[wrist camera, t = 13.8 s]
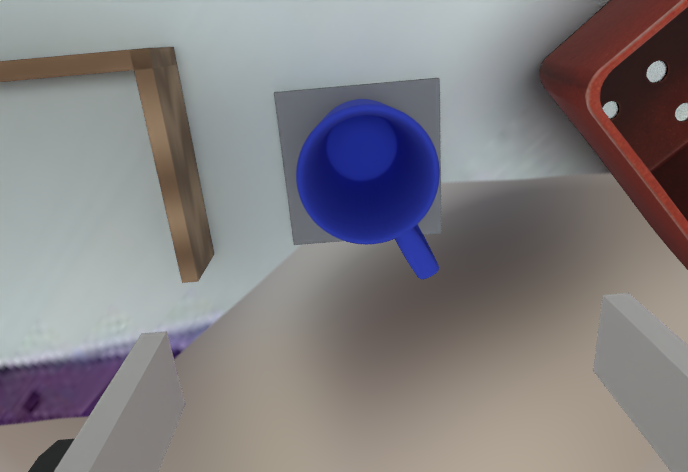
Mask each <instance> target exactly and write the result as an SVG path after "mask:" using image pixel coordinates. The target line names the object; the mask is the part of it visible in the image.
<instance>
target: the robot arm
mask: <svg viewBox="0 0 688 472" xmlns="http://www.w3.org/2000/svg"><path fill="white" fill-rule="evenodd" d="M593 371H594V372H595V374H596V375H597V376H598V378H599V379H600V380H601V382H602V383H603V384H604V386H605V387H606V388H607V389H608V391H609V392H610V393H611V394H612V396H613V397H614V398H615V400H616V401H617V402H618V404H619V405H620V406H621V408H622V409H623V410H624V411H625V413H626V414H627V415H628V417H629V418H630V419H631V420H632V422H633V423H634V424H635V426H636V427H637V428H638V430H639V431H640V432H641V433H642V435H643V436H644V437H645V439H646V440H647V441H648V442H649V444H650V445H651V446H652V448H653V449H654V450H655V452H656V453H657V454H658V455H659V457H660V458H661V459H662V461H663V462H664V463H665V464H666V466H667V467H668V468H669V470H670V471H671V472H688V345H687V344H686V343H685V342H684V341H683V340H682V339H681V338H679V337H678V336H677V335H676V334H675V333H674V332H673V331H671V330H670V329H669V328H668V327H667V326H666V325H664V324H663V323H662V322H661V321H660V320H659V319H658V318H656V317H655V316H654V315H653V314H652V313H651V312H650V311H649V310H648V309H646V308H645V307H644V306H643V305H642V304H641V303H640V302H638V301H637V300H636V299H635V298H634V297H632V295H630V294H629V293H622V294H610V295H603V300H602V306H601V315H600V322H599V330H598V337H597V345H596V354H595V361H594V368H593ZM184 406H185V401H184V397H183V393H182V389H181V385H180V381H179V377H178V373H177V370H176V366H175V362H174V358H173V354H172V350H171V346H170V342H169V338H168V334H167V332H155V333H143V334H141V335H140V337H139V338H138V340H137V342H136V343H135V345H134V346H133V348H132V350H131V351H130V353H129V354H128V356H127V357H126V359H125V361H124V362H123V364H122V365H121V367H120V368H119V370H118V372H117V373H116V375H115V376H114V378H113V379H112V381H111V383H110V384H109V386H108V387H107V389H106V390H105V392H104V394H103V395H102V397H101V398H100V400H99V401H98V403H97V405H96V406H95V408H94V409H93V411H92V412H91V414H90V416H89V417H88V419H87V420H86V422H85V424H84V425H83V427H82V428H81V430H80V431H79V433H78V434H77V436H76V438H75V439H66V440H58V441H56V442H55V443H54V444H53V445H52V446H51V447H50V448H48V449H47V450H46V451H45V452H44V453H43V454H41V455H40V456H39V457H38V459H37V460H36V461H35V463H34V464H33V466H32V467H31V468H30V470H29V471H28V472H159V469H160V467H161V464H162V462H163V459H164V457H165V454H166V452H167V449H168V447H169V444H170V441H171V439H172V437H173V434H174V432H175V429H176V427H177V424H178V421H179V419H180V416H181V414H182V411H183V409H184Z"/></svg>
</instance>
